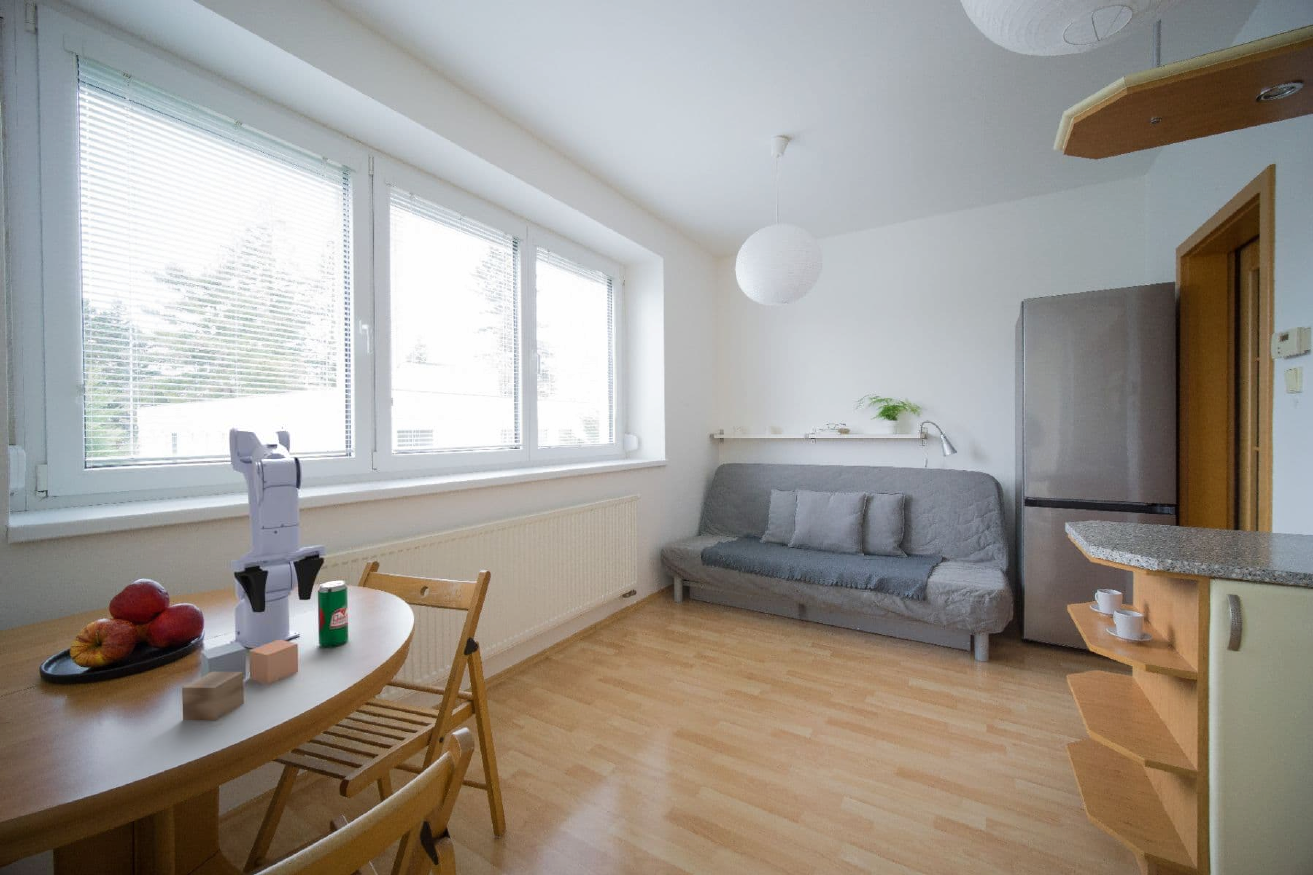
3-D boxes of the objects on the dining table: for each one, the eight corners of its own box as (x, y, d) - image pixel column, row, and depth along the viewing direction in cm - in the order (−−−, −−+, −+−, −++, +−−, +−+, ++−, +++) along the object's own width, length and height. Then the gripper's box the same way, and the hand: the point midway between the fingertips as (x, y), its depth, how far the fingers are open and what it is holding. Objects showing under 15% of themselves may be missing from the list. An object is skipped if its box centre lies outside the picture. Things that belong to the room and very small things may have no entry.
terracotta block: (249, 678, 90) (249, 650, 89) (280, 666, 94) (279, 639, 94) (268, 684, 88) (267, 655, 87) (298, 671, 92) (297, 643, 92)
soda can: (334, 649, 101) (333, 588, 101) (312, 647, 102) (311, 586, 102) (354, 639, 106) (353, 580, 106) (333, 637, 107) (332, 579, 107)
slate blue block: (201, 679, 89) (200, 650, 89) (237, 668, 93) (237, 641, 93) (209, 688, 86) (208, 658, 86) (246, 676, 90) (245, 648, 90)
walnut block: (182, 720, 77) (182, 687, 77) (213, 702, 82) (212, 671, 82) (215, 721, 77) (214, 687, 76) (243, 703, 82) (243, 671, 81)
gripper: (248, 532, 83) (251, 618, 82) (335, 520, 96) (338, 595, 95) (221, 533, 85) (224, 617, 85) (309, 522, 99) (312, 594, 98)
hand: (282, 605), depth 90 cm, fingers open, 7 cm apart
